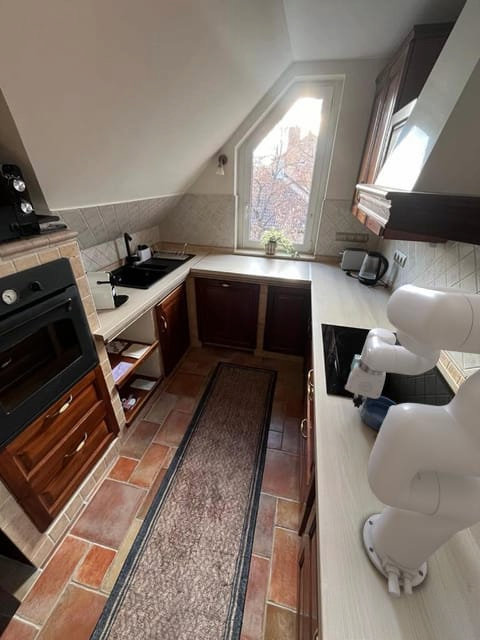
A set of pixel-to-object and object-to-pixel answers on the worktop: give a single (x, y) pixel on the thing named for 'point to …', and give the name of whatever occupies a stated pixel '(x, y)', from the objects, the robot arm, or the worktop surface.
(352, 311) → the worktop surface
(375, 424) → the bowl
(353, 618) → the worktop surface
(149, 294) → the worktop surface
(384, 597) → the worktop surface
